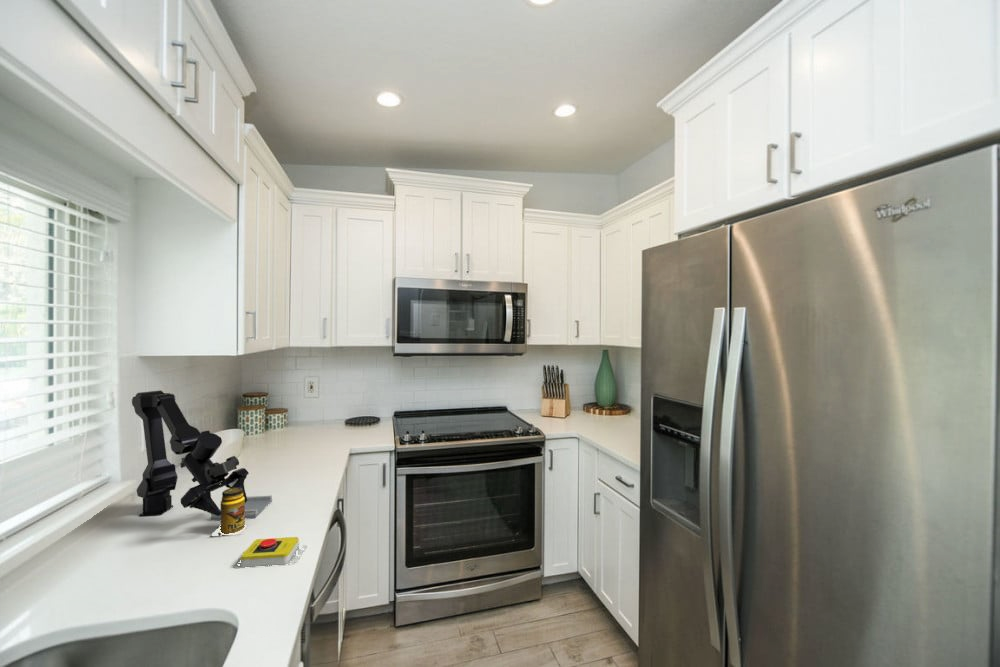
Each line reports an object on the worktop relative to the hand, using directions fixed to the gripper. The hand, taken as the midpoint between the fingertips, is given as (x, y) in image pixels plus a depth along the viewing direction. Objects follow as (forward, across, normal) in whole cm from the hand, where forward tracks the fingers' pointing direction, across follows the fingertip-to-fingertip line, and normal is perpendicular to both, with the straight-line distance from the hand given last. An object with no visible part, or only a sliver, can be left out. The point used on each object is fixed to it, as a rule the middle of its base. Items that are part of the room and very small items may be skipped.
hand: (233, 508), depth 122 cm
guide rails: (-2, +12, +10) cm, 16 cm away
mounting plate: (-1, +12, +11) cm, 16 cm away
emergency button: (+21, -10, -10) cm, 25 cm away
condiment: (+4, 0, +6) cm, 7 cm away
